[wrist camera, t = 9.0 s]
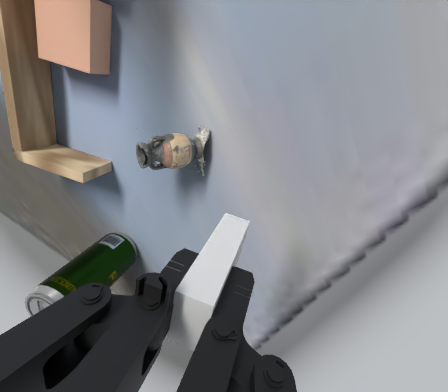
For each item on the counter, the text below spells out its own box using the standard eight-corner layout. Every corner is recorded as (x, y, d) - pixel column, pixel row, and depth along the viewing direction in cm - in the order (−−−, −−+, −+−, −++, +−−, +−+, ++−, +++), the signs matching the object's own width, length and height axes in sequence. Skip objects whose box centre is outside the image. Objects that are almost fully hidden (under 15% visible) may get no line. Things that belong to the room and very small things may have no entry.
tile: (114, 6, 24) (90, -3, 22) (111, 74, 27) (89, 73, 24) (61, -7, 25) (32, -18, 23) (64, 60, 28) (38, 57, 25)
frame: (114, -38, 23) (73, -64, 19) (111, 171, 31) (83, 183, 27) (30, -53, 24) (-25, -80, 20) (49, 150, 33) (14, 158, 29)
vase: (160, 165, 29) (127, 177, 24) (165, 116, 27) (129, 117, 22) (204, 177, 28) (179, 193, 23) (212, 127, 26) (187, 131, 21)
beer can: (103, 227, 36) (16, 286, 25) (136, 233, 34) (60, 300, 24) (109, 259, 38) (31, 326, 27) (141, 266, 36) (72, 340, 26)
